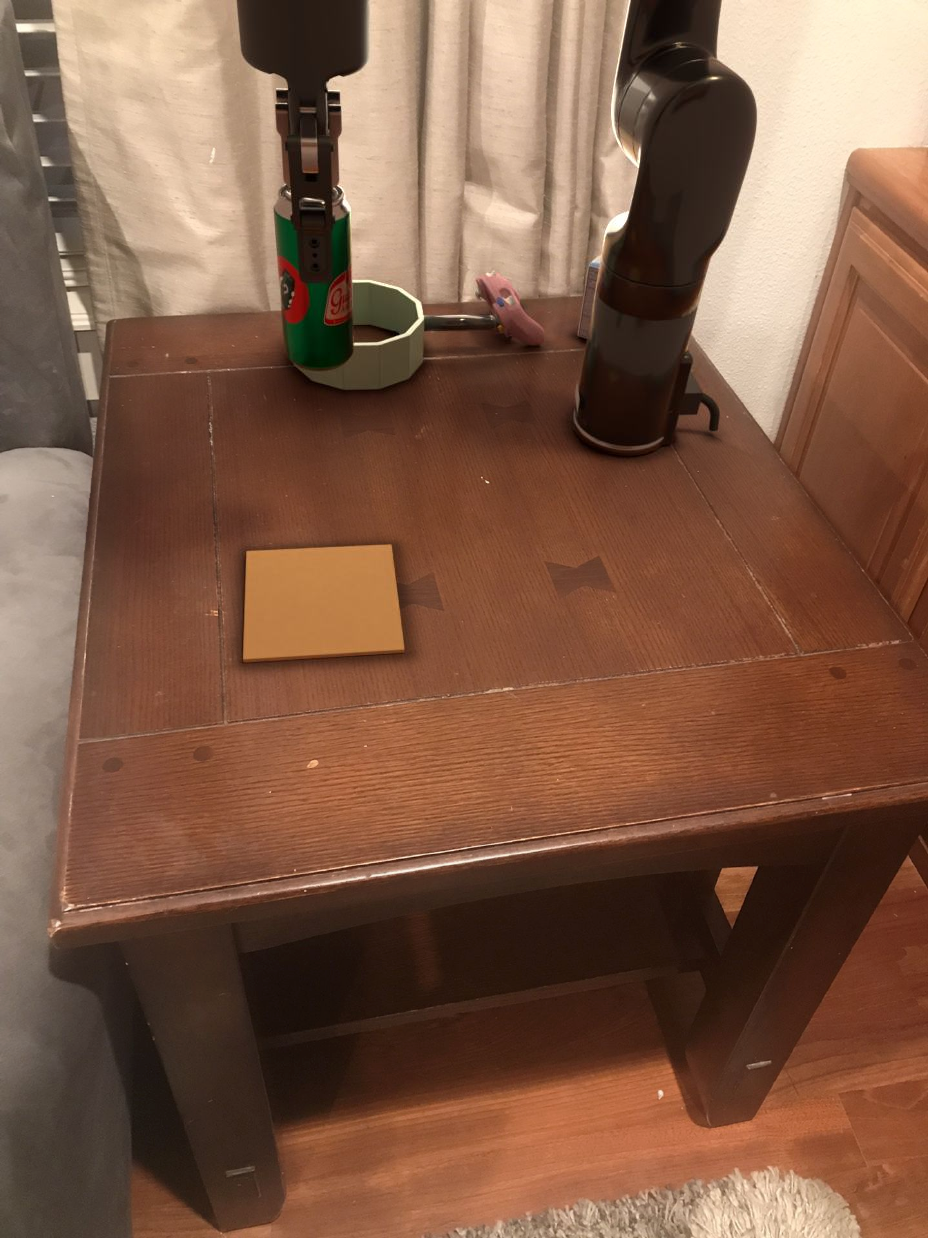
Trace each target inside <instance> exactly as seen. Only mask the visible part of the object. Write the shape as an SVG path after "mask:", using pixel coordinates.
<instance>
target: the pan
mask: <svg viewBox="0 0 928 1238" xmlns="http://www.w3.org/2000/svg"><path fill="white" fill-rule="evenodd" d="M352 286H353V326H363V325H364V326H365V325H366V326H367V325H368V326H369V325H370V326H373V327H377V328H381V329H384V330H389V331H392V332H396V333H397V334H399V335H396V336H392V337H389V338H387V339H384V340H380V341H377V342H354V351H353V354H352V356H351V357H350V359H349V360H348V361H347V362H346V363H345V364H344V365H342V366H341V367H339V368H336V369H333V370H329V371H310V370H306V369H303V368H300V367H298V366H297V365H295V364H294V363H293V366H295V367H296V369H298V370H299V371H300V372H301V373H302V374H304V375H305V376H306V377H307V378H309V380H310V381H312V382H315V383H318V384H322V385H326V386H329V387H333V388H335V389H339V390H344V391H353V390H354V391H355V390H357V391H358V390H360V391H361V390H382V389H384V388H387V387H389V386H393V385H394V384H398V383H401V382H404V381H407V380H409V379H410V378H411V377H412V375H414V373H416V371H417V370H418V369H419V367H421V365H422V364H423V362H424V341H425V332H472V331H473V332H476V331H477V332H478V331H485V332H486V331H493V330H495V329H496V327H498V322H497V319H496V318H495V316H493V314H438V315H437V314H436V315H434V314H431V315H424V311H423V306H422V302H421V300H419V299H418V298H416V297H414V296H413V295H412V294H410V293H409V292H407V291H406V290H405V289H403V288H402V287H400V286H395V285H391V284H388V283H383V282H380V281H375V280H371V279H352Z"/></svg>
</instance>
